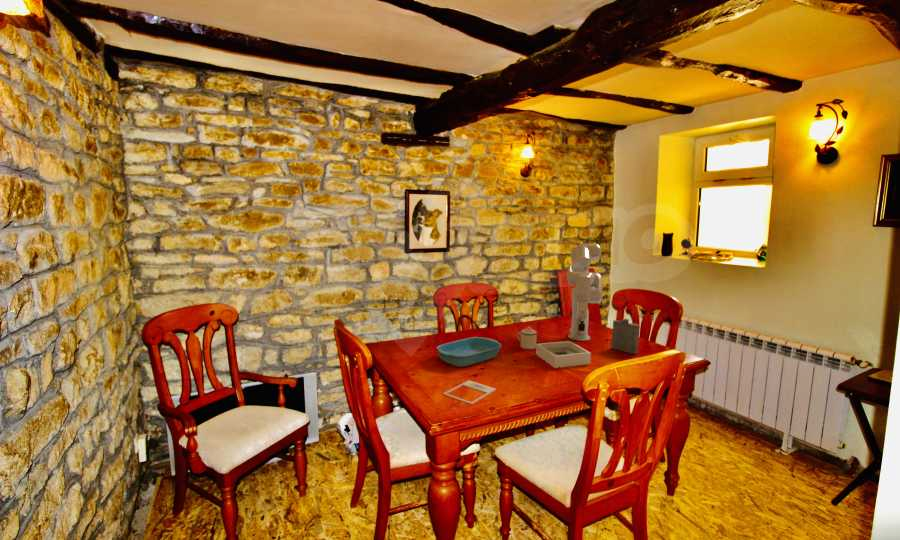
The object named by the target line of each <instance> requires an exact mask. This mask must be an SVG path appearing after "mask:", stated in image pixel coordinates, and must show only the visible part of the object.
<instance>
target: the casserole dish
mask: <svg viewBox="0 0 900 540" xmlns="http://www.w3.org/2000/svg"><path fill="white" fill-rule="evenodd" d="M501 347H502V344H501V343H500V342H498V340H496V339H494V338H489V337H487V338H486V337H479V336H473V337H468V338H464V339H459V340H455V341H454V340H453V341H451V342H447V343H443V344H440V345H438V346H436V350H437V354H438V356H439V358H440V359H441V360H442V361H443V362H445V363H447V364H450V365H452V366H454V367H455V366H456V367H458V368H459V367H460V368H461V367H468V366H471V365H475V364H478V363H482V362H485V361H489V360H491V359H495V358H496V357H497V356H498V354H499V352H500V349H501Z"/></svg>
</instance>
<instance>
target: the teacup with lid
mask: <svg viewBox="0 0 900 540" xmlns="http://www.w3.org/2000/svg"><path fill="white" fill-rule="evenodd" d="M537 336H538V332H537V330H535V329H533V328H531V326H527V327H526V328H524V329H521V331H520V332H518V333H517V334H516V337H517V339H518V341H519V342H520V347H521V348H522V349H525V350H536V344H537Z"/></svg>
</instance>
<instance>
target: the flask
mask: <svg viewBox="0 0 900 540" xmlns="http://www.w3.org/2000/svg"><path fill="white" fill-rule="evenodd" d="M629 321H630V319H628V318H622V320H617V319H615V320H612V336H611V349H613V348H614V349H613V350H616V349H618V350H617V351H619V350H622V351H621V352H623V351H626V352H625V353H627V352H629V354H632V353H633V355H638V351H639V350H638V349H639V338H640V337H639V336H640V324H636V323H629Z"/></svg>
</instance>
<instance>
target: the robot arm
mask: <svg viewBox="0 0 900 540" xmlns="http://www.w3.org/2000/svg"><path fill="white" fill-rule="evenodd" d="M601 256H602V248H601V245H600V244H598V243H581V244H578V245H577V246H574V247H572V248H571V249H570V261H571V263H570V264H569V266H568V268H567V271H566V272H567V273H566V277H567V278H566V280H567V283H568V285H572V286H574V287H573V288H572V289H571V302H572V304H571V305H572V308H571V312H572V313H571V328H569V331H570V333H569V334H568V339H570V340H573V341H578V342H585V341H590V340H591V336H590V335H589V333H588V331H589V316H590V315H589V313H590V311H589V308H588V304H600V303H601V302H602V300H603V280H602V275H601V274H600V273H598V272H590V268H589V267H590V266H591V264H592V263H591V262H592V261H597V260H599V259H600V258H601ZM580 317H581V318H580ZM578 318H579V328H578ZM580 319H581V321H580ZM585 319H586V321H585ZM577 328H578V330H579V331H585V336H578V335H577Z"/></svg>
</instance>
